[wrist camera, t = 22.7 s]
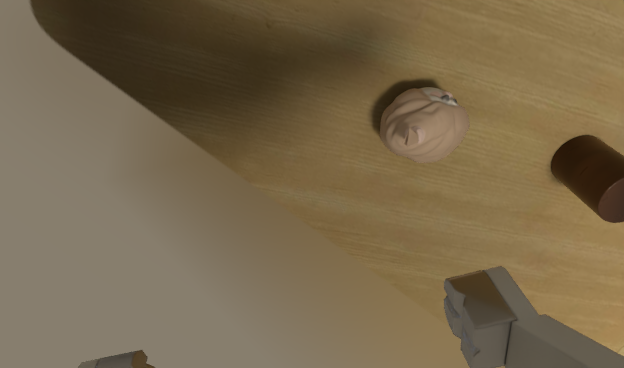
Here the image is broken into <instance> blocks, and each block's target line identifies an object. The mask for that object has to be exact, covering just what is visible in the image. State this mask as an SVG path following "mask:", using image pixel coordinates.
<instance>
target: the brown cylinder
mask: <svg viewBox="0 0 624 368" xmlns="http://www.w3.org/2000/svg"><path fill="white" fill-rule="evenodd" d="M551 168H552V172H553V174H554V176H555V177H556V178H557V179H558V180H560V181H561V182H562V183H563V184H564V185H565V186H566V187H567V188H568V189H570V190H571V191H572V192H573V193H574V194H575V195H576V196H577V197H578V198H580V199H581V200H582V201H583V202H584V203H585V204H586V205H587V206H588V207H590V208H591V209H592V210H593V211H594V212H595V213H596V214H597V215H598V216H600V217H601V218H602V219H603V220H605V221H608V222H612V223H618V222H624V156H623V155H622V154H620V153H619V152H617V151H616V150H614V149H613V148H611V147H610V146H608V145H607V144H605V143H604V142H602V141H601V140H599V139H598V138H596V137H593V136H580V137H577V138H574V139H572V140H570V141H568V142H567V143H565V144H564V145H563V146H562V147H561V148H560V149H559V150H558V151H557V152H556V154H555V156H554V158H553V160H552V166H551Z"/></svg>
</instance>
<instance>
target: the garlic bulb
mask: <svg viewBox="0 0 624 368" xmlns="http://www.w3.org/2000/svg"><path fill="white" fill-rule="evenodd" d="M468 129H469V118H468V114H467V112H466V110H465V108H464V107H462V106H460V105H458V104H457V101H456V99H453V96H452V94H451V93H449V92H447V91H443V90H441V89H438V88H433V87H424V88H420V89H415V88H412V89H409V90H407V91H405V92H403V93H402V94H400V95H399V96H397V97H396V98H395V100H394V102H393V103H392V104H390V105H389V106H388V107H387V108H386V109H385V111H384V112H383V114H382V118H381V124H380V138H381V140H382V142H383V143H384V145H385V146H386V147H387V148H388V149H389V150H390V151H392V152H393V153H394V154H396V155H400V156H405V157H407V158H409V159H411V160H413V161H415V162H418V163H430V162H436V161H439V160H441V159H443V158H445V157H446V156H447V155H449V154H450V153H451V152H452V151H453V150H454V149H455V148H456V147H457V146H458V145H459V144H460V142H461V141H462V139H463V138H464V136H465V134H466V132H467V131H468Z"/></svg>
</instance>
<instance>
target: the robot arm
mask: <svg viewBox="0 0 624 368" xmlns="http://www.w3.org/2000/svg"><path fill="white" fill-rule="evenodd" d="M444 289H445V291H446V293H447V296H446V298H445V299H444V309H445V313H446V318H447V320H448V323H449V326H450V328H451V330H452V332H453V334H454V335H455V336H457V337H459V338H460V339H461V351H462V353H463V355H464V357H465V359H466V361H467V363H468V365H469V367H470V368H496V367H500V366H505V368H624V356H622V355H620V354H618V353H616V352H614V351H612V350H611V349H609V348H607V347H605V346H603V345H601V344H599V343H598V342H596V341H594V340H592V339H590V338H588V337H586V336H585V335H583V334H581V333H579V332H577V331H575V330H573V329H572V328H570V327H568V326H566V325H564V324H562V323H560V322H559V321H557V320H555V319H553V318H551V317H549V316H547V315H546V314H543V315H539V314H538V313H537V312H536V310H535V309H534V307H533V306H532V305H531V303H530V302H529V301H528V299H527V298H526V296H525V295H524V294H523V292H522V291H521V289H520V288H519V287H518V285H517V284H516V283H515V281H514V280H513V278H512V277H511V276H510V274H509V273H508V271H507V270H506V269H505V268H504V267H502V266H499V267H495V268H490V269H486V270H482V271H481V270H480V271H476V272H472V273H468V274H464V275H460V276H455V277H451V278H447V279H445V281H444ZM146 362H147V356H146V355H145V353H144V352H143V351H142V350H139V351H134V352H129V353H124V354H119V355H115V356H110V357H105V358H100V359H95V360H91V361H86V362H82V363H81V364H80V365H79V367H78V368H155V367H154V366H151V365H149V364H146Z"/></svg>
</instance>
